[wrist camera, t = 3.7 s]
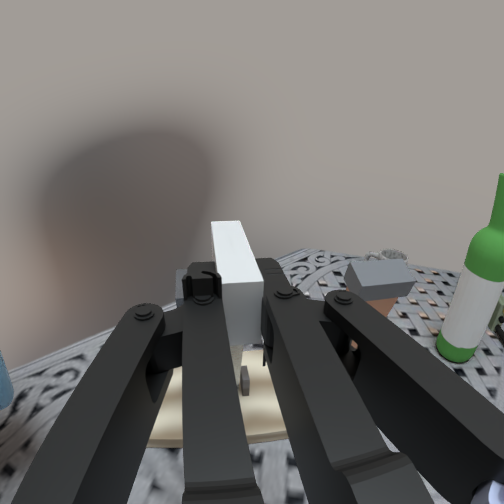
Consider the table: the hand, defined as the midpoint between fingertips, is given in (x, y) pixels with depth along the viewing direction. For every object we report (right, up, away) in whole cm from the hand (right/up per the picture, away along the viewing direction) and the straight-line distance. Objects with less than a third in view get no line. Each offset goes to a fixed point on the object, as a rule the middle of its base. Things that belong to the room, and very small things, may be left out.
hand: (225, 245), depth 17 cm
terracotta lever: (+11, -15, +20) cm, 28 cm away
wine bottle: (+36, -17, +27) cm, 48 cm away
